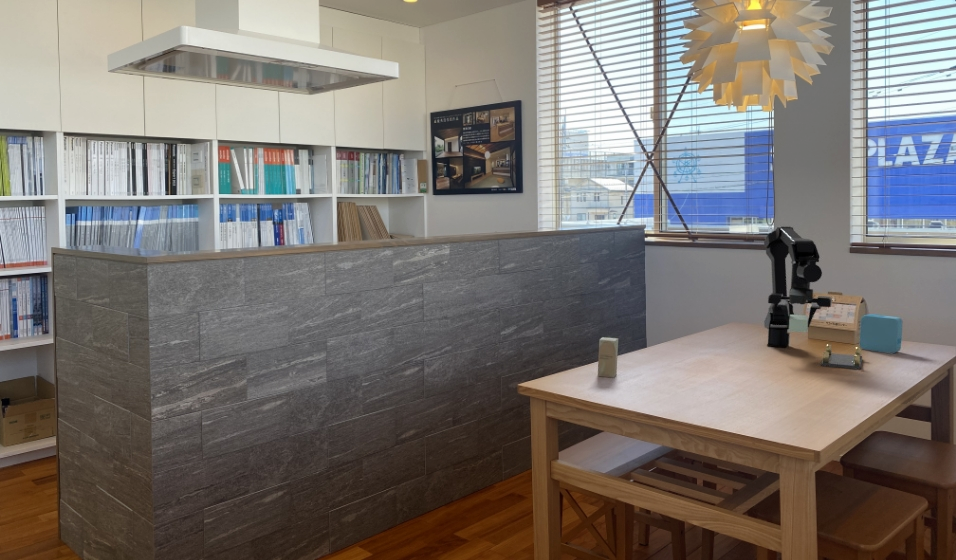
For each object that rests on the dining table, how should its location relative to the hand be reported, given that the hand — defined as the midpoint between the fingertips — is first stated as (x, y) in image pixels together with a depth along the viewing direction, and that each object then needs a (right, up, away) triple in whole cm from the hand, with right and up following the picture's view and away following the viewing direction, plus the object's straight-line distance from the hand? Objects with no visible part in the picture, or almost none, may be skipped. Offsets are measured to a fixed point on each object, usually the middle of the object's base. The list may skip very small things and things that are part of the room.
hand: (798, 326), depth 251 cm
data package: (+33, -9, +13) cm, 37 cm away
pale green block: (0, -1, 0) cm, 1 cm away
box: (-66, -13, -23) cm, 72 cm away
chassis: (+12, -11, -5) cm, 17 cm away
